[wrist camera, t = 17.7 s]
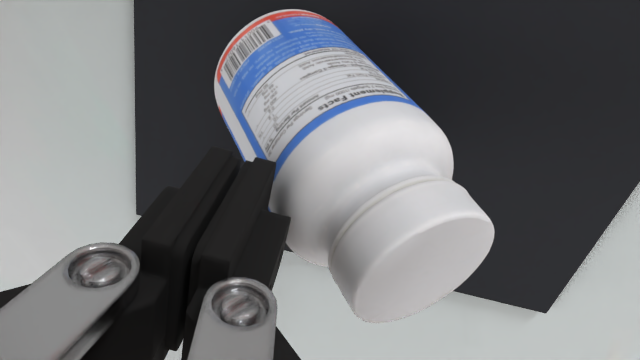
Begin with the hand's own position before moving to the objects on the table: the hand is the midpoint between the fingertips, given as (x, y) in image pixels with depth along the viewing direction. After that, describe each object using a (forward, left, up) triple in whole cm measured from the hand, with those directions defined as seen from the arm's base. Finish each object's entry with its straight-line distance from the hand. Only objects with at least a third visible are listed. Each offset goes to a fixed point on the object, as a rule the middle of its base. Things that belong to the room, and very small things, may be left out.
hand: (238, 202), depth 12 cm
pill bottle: (0, +1, -7) cm, 7 cm away
